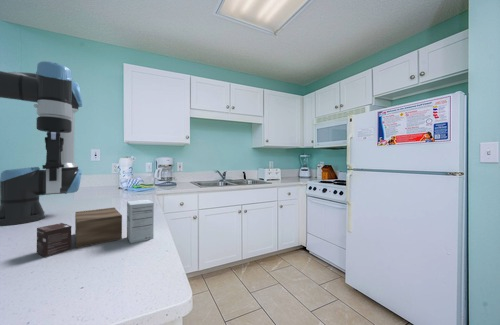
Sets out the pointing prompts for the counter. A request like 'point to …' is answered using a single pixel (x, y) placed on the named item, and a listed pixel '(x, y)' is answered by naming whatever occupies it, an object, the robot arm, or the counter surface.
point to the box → (53, 239)
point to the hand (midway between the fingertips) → (54, 190)
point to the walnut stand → (97, 226)
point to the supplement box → (140, 220)
